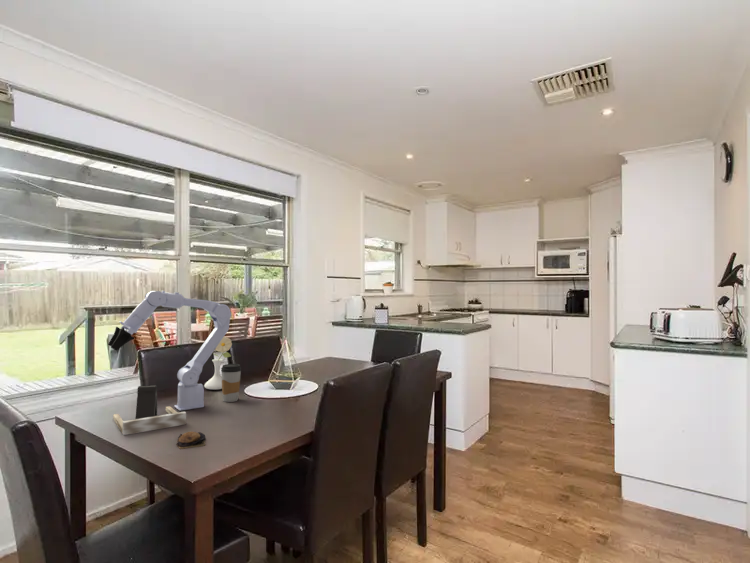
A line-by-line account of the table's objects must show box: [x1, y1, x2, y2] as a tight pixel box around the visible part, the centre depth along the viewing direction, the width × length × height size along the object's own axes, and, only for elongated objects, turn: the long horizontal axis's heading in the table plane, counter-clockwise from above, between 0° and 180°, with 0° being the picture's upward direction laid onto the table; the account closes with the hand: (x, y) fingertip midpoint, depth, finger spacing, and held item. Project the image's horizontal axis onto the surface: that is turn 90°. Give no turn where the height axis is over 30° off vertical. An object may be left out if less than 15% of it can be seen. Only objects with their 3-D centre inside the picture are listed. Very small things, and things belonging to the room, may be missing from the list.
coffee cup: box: [220, 363, 242, 403], centre depth 183 cm, size 8×8×15 cm
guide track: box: [112, 406, 187, 436], centre depth 153 cm, size 19×22×4 cm
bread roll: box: [176, 431, 206, 450], centre depth 133 cm, size 11×8×4 cm
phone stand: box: [134, 384, 158, 419], centre depth 156 cm, size 9×6×12 cm, turn 20°
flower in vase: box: [203, 336, 233, 391], centre depth 204 cm, size 13×11×25 cm
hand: (111, 347), depth 156 cm, fingers open, 7 cm apart
